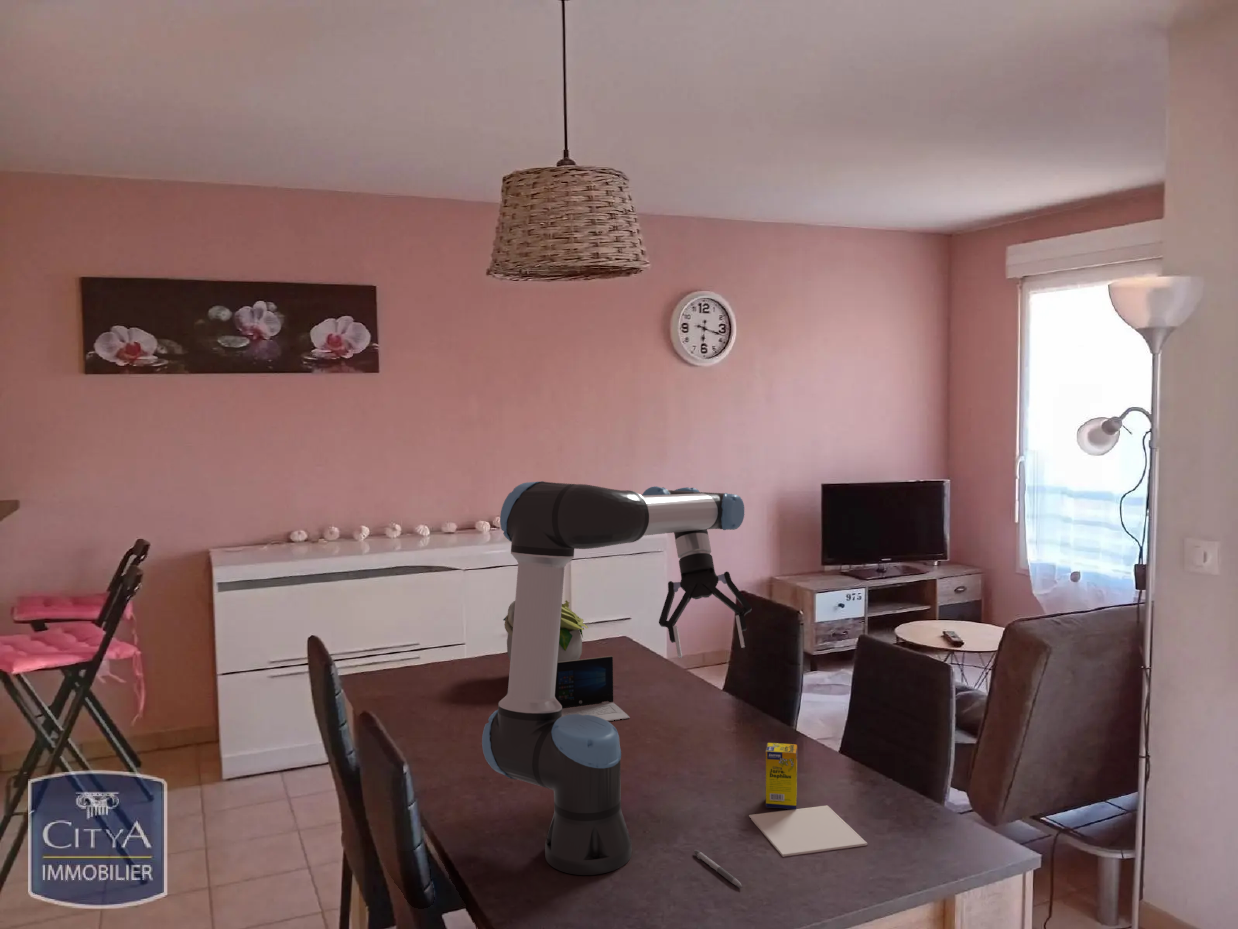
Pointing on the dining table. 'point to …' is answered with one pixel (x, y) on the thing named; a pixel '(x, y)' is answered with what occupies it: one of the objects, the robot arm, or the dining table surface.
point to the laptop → (587, 688)
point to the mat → (806, 830)
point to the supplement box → (781, 775)
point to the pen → (717, 868)
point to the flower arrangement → (567, 638)
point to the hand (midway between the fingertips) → (711, 652)
